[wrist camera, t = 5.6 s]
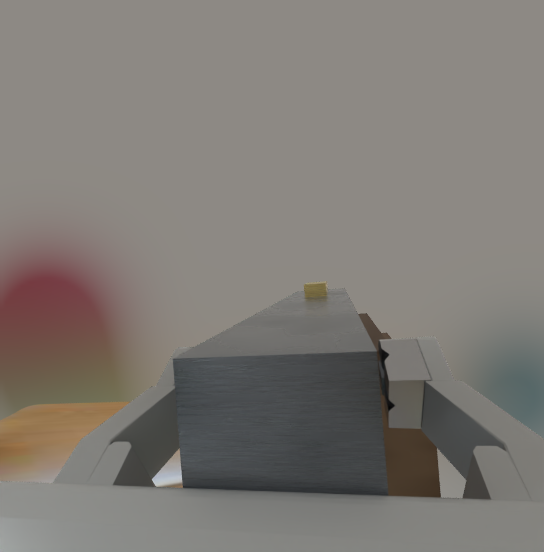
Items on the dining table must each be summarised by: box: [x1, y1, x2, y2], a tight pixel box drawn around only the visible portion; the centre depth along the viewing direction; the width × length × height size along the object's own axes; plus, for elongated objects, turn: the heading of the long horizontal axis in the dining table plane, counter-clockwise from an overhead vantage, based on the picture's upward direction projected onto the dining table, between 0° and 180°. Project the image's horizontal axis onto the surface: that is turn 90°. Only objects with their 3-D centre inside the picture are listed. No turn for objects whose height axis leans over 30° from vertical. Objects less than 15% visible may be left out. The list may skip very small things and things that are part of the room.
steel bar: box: [173, 282, 389, 496], centre depth 16 cm, size 20×4×4 cm, turn 169°
